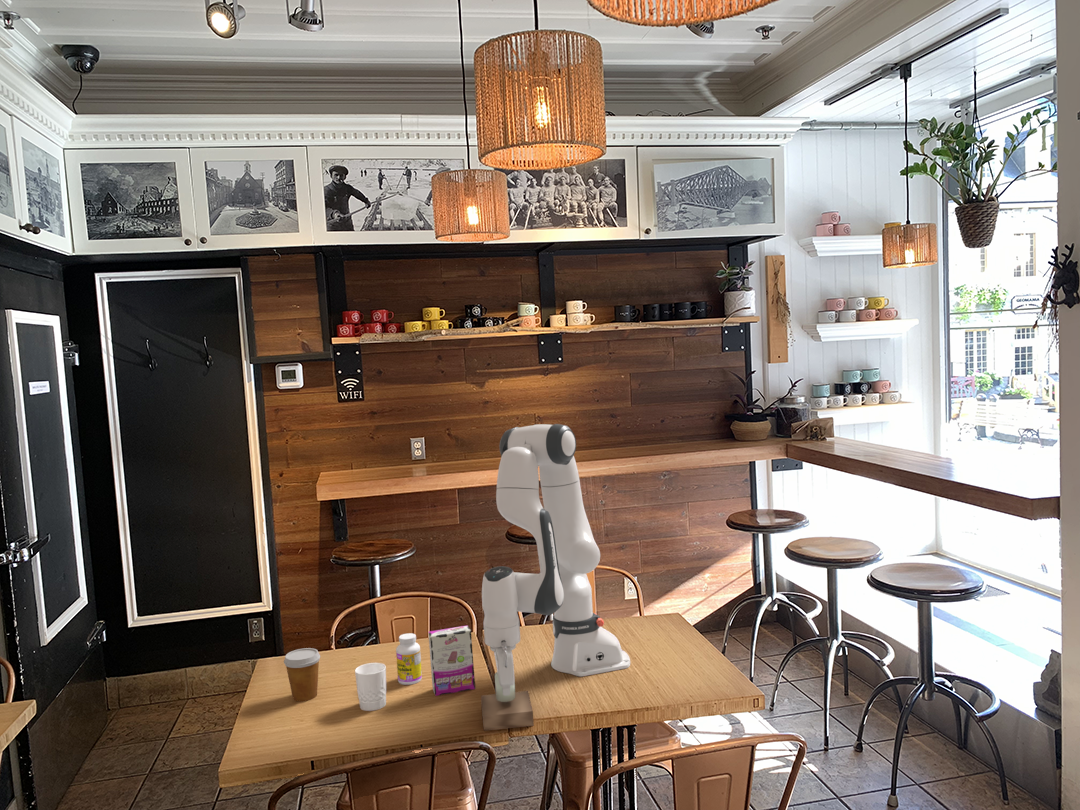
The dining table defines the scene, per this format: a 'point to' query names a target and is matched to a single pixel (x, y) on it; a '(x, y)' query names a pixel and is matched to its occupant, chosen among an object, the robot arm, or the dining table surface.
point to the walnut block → (507, 712)
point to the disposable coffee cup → (303, 673)
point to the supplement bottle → (408, 660)
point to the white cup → (371, 686)
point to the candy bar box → (451, 660)
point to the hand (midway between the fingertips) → (505, 689)
